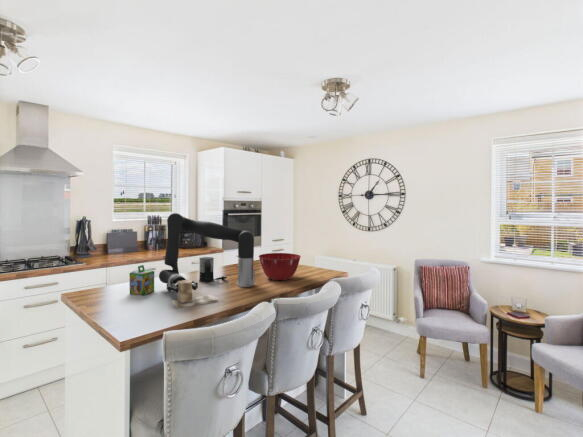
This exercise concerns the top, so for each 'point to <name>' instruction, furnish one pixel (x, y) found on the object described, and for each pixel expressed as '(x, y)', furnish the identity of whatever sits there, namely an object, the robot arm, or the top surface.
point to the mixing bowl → (279, 265)
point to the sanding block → (185, 291)
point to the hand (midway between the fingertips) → (186, 289)
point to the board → (196, 301)
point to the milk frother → (207, 270)
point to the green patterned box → (141, 281)
